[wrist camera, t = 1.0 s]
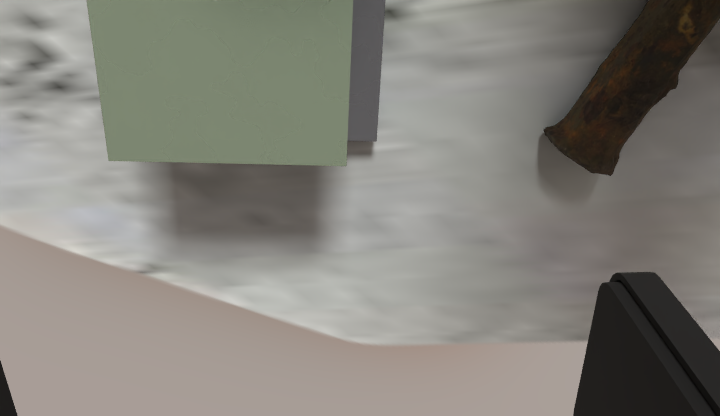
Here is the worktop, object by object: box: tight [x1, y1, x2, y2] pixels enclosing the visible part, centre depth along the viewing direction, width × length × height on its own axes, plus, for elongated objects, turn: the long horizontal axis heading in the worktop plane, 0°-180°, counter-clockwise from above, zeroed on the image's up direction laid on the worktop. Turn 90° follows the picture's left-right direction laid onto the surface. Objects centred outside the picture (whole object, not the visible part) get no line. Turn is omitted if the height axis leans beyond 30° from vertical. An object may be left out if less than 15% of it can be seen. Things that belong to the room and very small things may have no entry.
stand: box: [87, 0, 385, 166], centre depth 30 cm, size 14×14×10 cm
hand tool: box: [544, 0, 720, 176], centre depth 34 cm, size 19×4×5 cm, turn 149°
